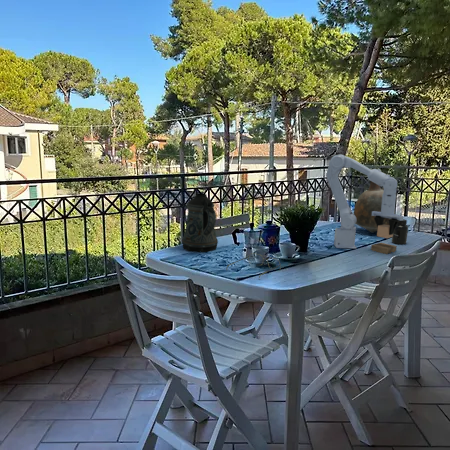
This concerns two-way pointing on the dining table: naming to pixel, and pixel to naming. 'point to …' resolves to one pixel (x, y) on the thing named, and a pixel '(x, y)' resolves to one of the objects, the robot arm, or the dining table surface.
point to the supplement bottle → (400, 233)
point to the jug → (369, 207)
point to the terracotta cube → (383, 231)
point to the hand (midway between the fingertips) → (385, 233)
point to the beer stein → (200, 225)
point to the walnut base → (383, 248)
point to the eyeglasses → (261, 264)
